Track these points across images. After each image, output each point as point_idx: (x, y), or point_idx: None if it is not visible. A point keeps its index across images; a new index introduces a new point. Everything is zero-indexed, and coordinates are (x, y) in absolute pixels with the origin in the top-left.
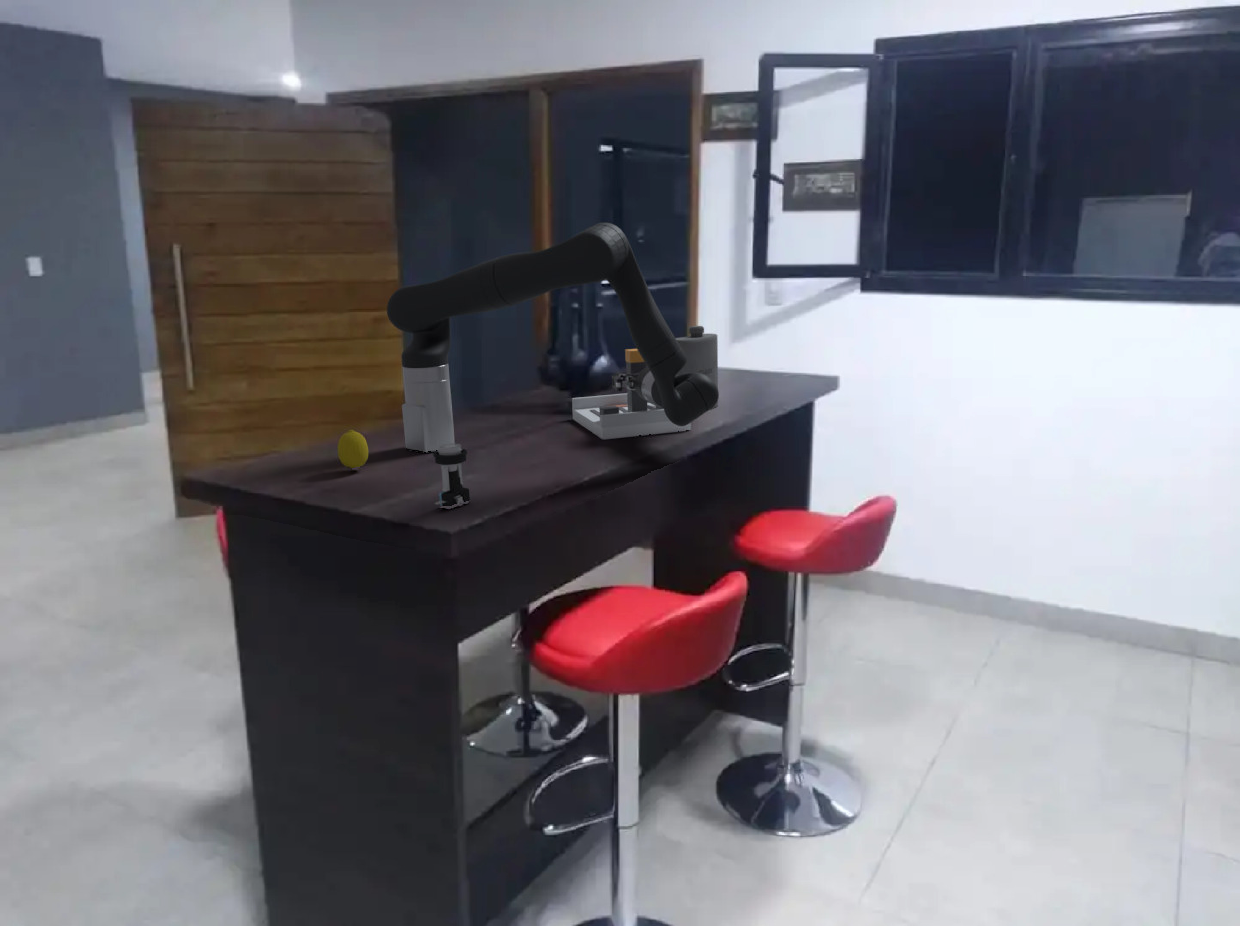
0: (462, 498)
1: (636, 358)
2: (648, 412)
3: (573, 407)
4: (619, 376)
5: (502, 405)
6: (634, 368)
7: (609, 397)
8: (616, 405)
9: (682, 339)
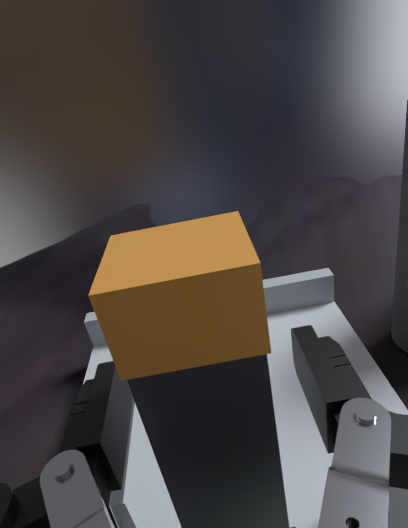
0: None
1: (171, 342)
2: None
3: (92, 340)
4: (43, 490)
5: (57, 253)
6: (170, 408)
7: None
8: None
9: None
